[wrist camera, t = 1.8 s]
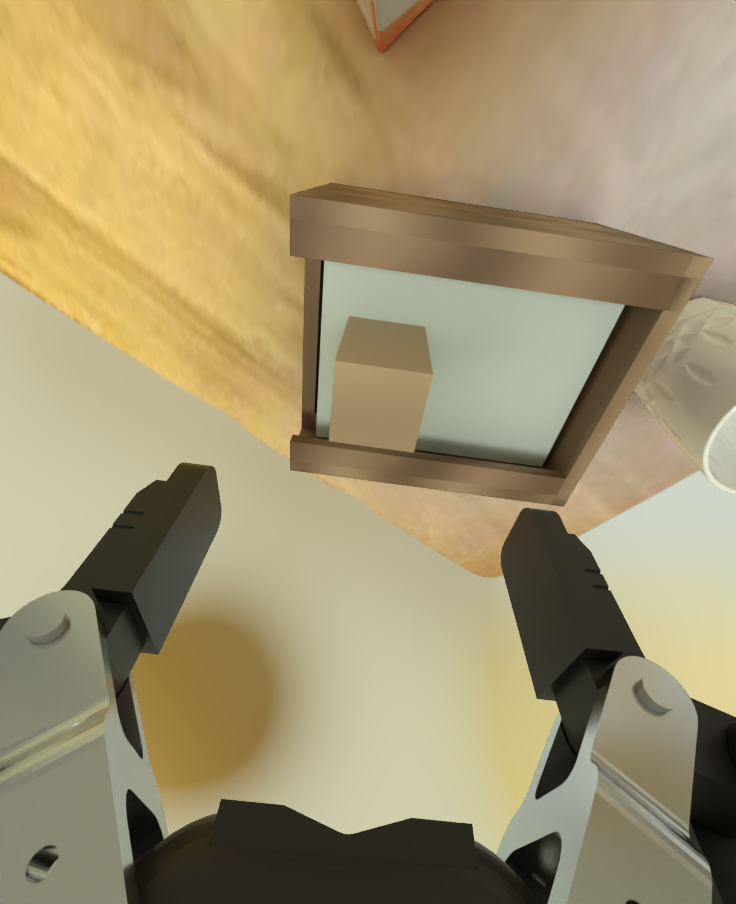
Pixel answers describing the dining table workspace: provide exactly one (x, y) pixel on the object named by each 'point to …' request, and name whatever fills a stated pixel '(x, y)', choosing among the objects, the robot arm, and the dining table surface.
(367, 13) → the cracker box
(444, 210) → the walnut box
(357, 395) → the lid
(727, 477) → the white cup
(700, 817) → the robot arm
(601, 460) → the dining table surface
